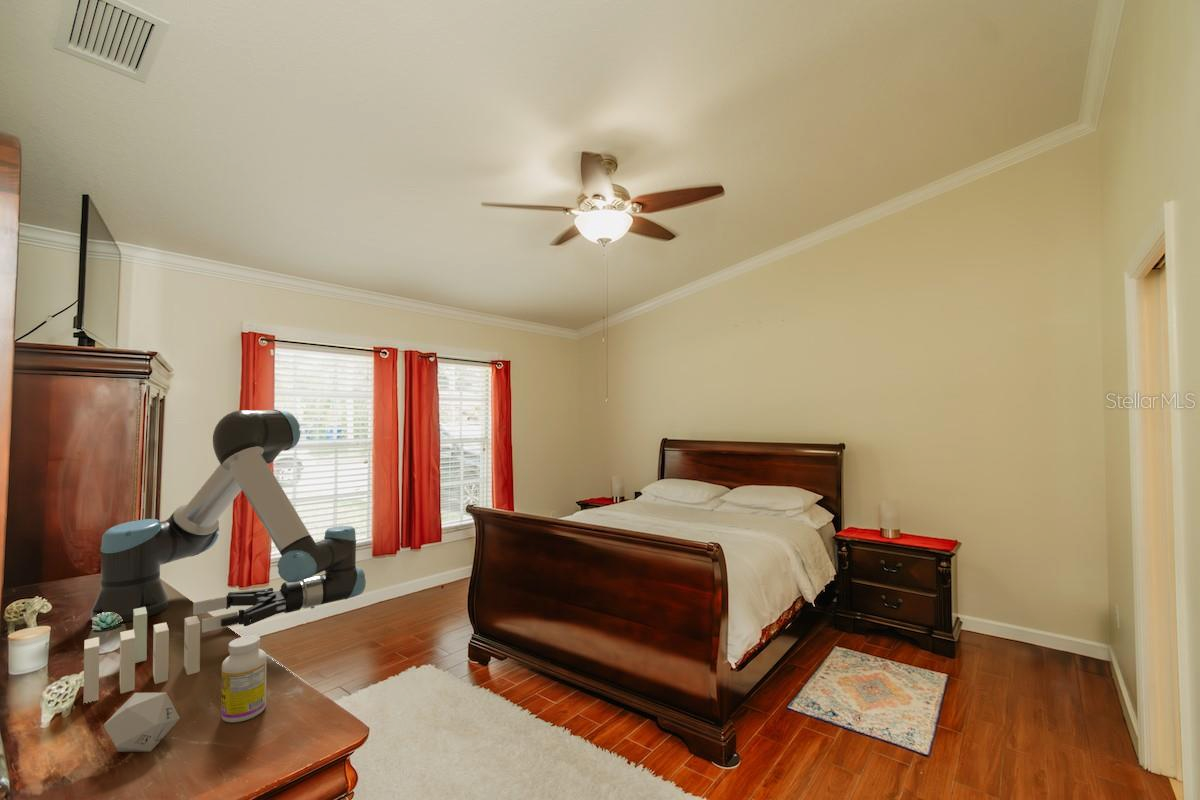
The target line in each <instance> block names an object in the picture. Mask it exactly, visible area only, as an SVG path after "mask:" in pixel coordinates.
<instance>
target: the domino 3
mask: <svg viewBox="0 0 1200 800" xmlns="http://www.w3.org/2000/svg"><path fill="white" fill-rule="evenodd" d="M132 623H133V624H132V630H133V629H134V633H135V664H136V663H137V664H138V663H140V662H146V661H147V655H148V654H147V651H148V649H147V648H148V647H147V643H148V642H147V641H148V617H147V611H146V607H142V608H137V609H133V621H132Z"/></svg>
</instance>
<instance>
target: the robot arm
mask: <svg viewBox="0 0 1200 800" xmlns="http://www.w3.org/2000/svg"><path fill="white" fill-rule="evenodd" d="M300 428H301V427H300V423H299V421H298V420H297V418H296V417H295V416H294V415H293V414H292V413H290V412H289V411H286V410H279V409H277V408H276V409H257V410H256V409H255V410H250V409H249V410H248V409H241V410H240V409H239V410H235V411H232V412H229V413H227V414H226V415H225V416H223V417H222V418H221V419H220V420H219V421H218V423H217V424H216V426H215V427H214V430H213V434H212V445H213V447H212V448H213V450H214V454H215V456H216V458H217V461H218V462H219V465H218V466H217V467H216V469H215V470H214V471H213V473H211V475H210V476H209V478H208V479H207V480H206V481H205V482H204V484H203V485H202V486H201V487H200V488H199V490H198V491H197V492H196V494H194V496H193V497H192V498H191V500H190V501H189V502H188V503H187V504H183V505H180V506H179V507H177V508H175V510H174V512H173V513H172V514H171V515H170V516H169V517H168V519H166V520H163V521H160V520H158V519H156V518H145V519H137V520H135V521H133V520H132V521H127V522H123V523H119V524H116V525H114V526H111V527H110V528H108V529H106V530H105V532H104V533H103V534H102V537H101V545H100V549H99V550H100V554H101V557H100V559H101V560H100V563H101V564H100V589H99V592H98V595H97V597H96V599H95V602H94V604H93V607H92V609H91V612H90V621H91V620H92V618H93V617H94V616H95V615H97V614H99V613H102V612H115V613H117V614H119V615H120V616H121V617H122V619H123V621H124V622H123V623H127V622H133V609H137V608H142V607H146V611H147V618H148V617H150V616H154V615H157V614H159V613H161V612H163V611H164V610H166V609H167V608H168V606H169V598H168V594H167V592H166V590H165V587H164V585H163V583H162V581H161V566H162V565H164V564H169V563H172V562H175V561H179V560H182V559H186V558H189V557H194V556H198V555H200V554H202V553H204V552H206V551H208V550H209V549H211V548H212V547H213V546H214V545H215V544H216V542H217V540H218V539H219V538H218V537H219V535H220V534H219V533H218V532H220V522H219V518H220V517H221V516H222V515H223V513H224V512H225V511H226V510H227V509H228V507H229V506H231V504H232V503H233V501H234V500H235V499H236V498H237V496H239V494H240V493H241V492H242V493H243V494H244V495H245V497H246V499H247V500H248V502H249V504H250V506H251V507H252V509H253V510H254V512H255V514H256V516H257V517H258V519H259V521H260V523H261V525H262V526H263V527H264V529H265V530H266V533H267V535H268V536H269V537H270V539H271V541H272V542H273V544H274V546H275V547H276V548H277V550H278V552H279V554H280V556H281V557H280V558H279V559H278V562H277V569H278V571H277V573H278V575H279V577H280V578H281V579H282V580H283V581H285V582H283V583H282V584H281V585H280V589H279V590H277V591H274V587H268V588H264V589H263V588H262V589H252V590H241V591H231V592H228V593H227V594H226V595H225V596H220V597H216V598H215V597H214V598H212V599H205V600H201V601H197V602H193V605H192V610H193V611H192V613H193V616H197V615H201V614H205V613H209V612H214V611H219V610H224V609H225V610H228V609H229V608H231V607H244V606H246V607H247V606H250V607H248V608H246V609H238V611H233V612H229V613H224V614H219V615H215V616H212V617H208V618H207V617H206V618H201V633H206V632H211V631H215V630H219V629H223V628H227V627H231V626H236V625H243V627H248V626H251V625H254V624H255V623H258V622H261V621H263V620H265V619H268V618H270V617H272V616H276V615H279V614H282V613H285V614H289V613H293V612H296V611H300V610H301V609H302V608H303V609H304V610H305V609H308V608H310V609H315V608H316V607H317V606H321V605H324V604H330V603H334V602H338V601H342V600H348V599H351V598H354V597H357V596H360V595H362V594H363V592H364V591H365V589H366V585H367V584H366V583H367V580H366V575H365V572H364V570H363V568H362V567H356V566H357V565H356V564H357V563H356V561H357V560H356V559H357V558H356V557H357V555H356V554H357V539H356V536H357V535H356V529H355V527H354V526H350V525H337V526H332V527H329V528H327V529H325V532H324V536H323V538H324V539H322V540H320V541H317V542H315V540H314V538H313V537H312V535H311V533H310V532H309V530H308V528H307V527H306V525H305V524H304V521H302V518H301V517H300V515H299V514H298V512H297V510H296V509H295V507H294V506H293V504H292V502H291V501H290V499H289V497H288V495H287V494H286V493H285V491H284V489H283V488H282V486H281V484H280V483H279V480H278V479H277V477H276V476H275V473H273V471H272V470H271V468H270V466H269V465H270V464H272V463H273V462H274V461H275V459H276V458H277V457H278V456H279V454H281V453H282V452H284V451H290V450H291V449H293V448H295V447H296V446H297V445H298V443H299V441H300V439H301V429H300ZM322 572H324V574H319V573H322ZM317 574H319V575H317Z"/></svg>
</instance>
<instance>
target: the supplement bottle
mask: <svg viewBox="0 0 1200 800" xmlns="http://www.w3.org/2000/svg"><path fill="white" fill-rule="evenodd" d="M260 647H261V636H259V635H254V634H252V635H244V636H239V637H237V638H235V639H233V640H231V641H230V642H229V643H228V649H227V650H228V652H229V655H228V656H226V658H225V659H224V660H223V661H222V664H221V688H220V689H221V692H220V695H221V696H220V697H221V699H220V701H221V702H220V703H221V704H220V705H221V706H220V709H221V711H220V712H221V715H220V716H221V719H222V720H223V721H224V722H226V723H230V724H231V723H235V724H236V723H240V722H245V721H248V720H251V719H253V718H255V717H257V716H258V715H259V714H261V713H262V712H263V711H264V710H265V709H266V706H267V653H266V651H264V650H263V649H261V648H260Z"/></svg>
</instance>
